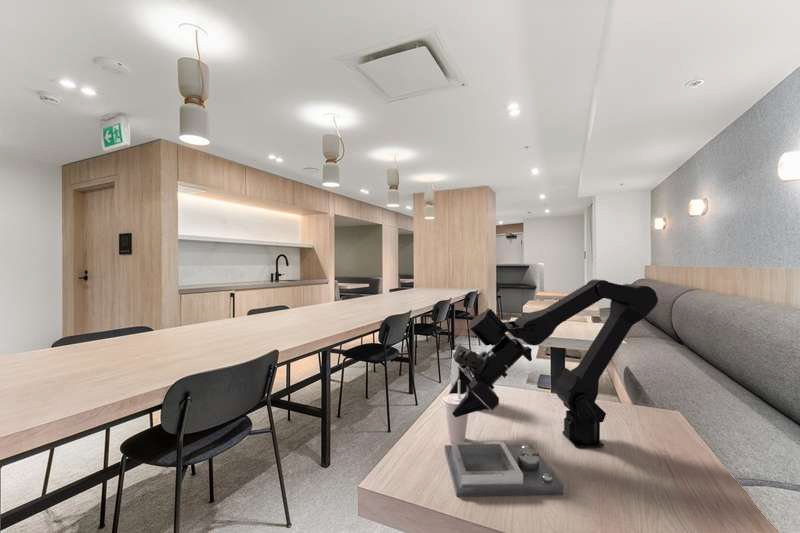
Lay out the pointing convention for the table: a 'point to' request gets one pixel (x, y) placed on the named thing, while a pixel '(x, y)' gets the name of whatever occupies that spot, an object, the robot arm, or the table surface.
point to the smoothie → (455, 424)
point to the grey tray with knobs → (499, 470)
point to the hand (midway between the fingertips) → (450, 406)
